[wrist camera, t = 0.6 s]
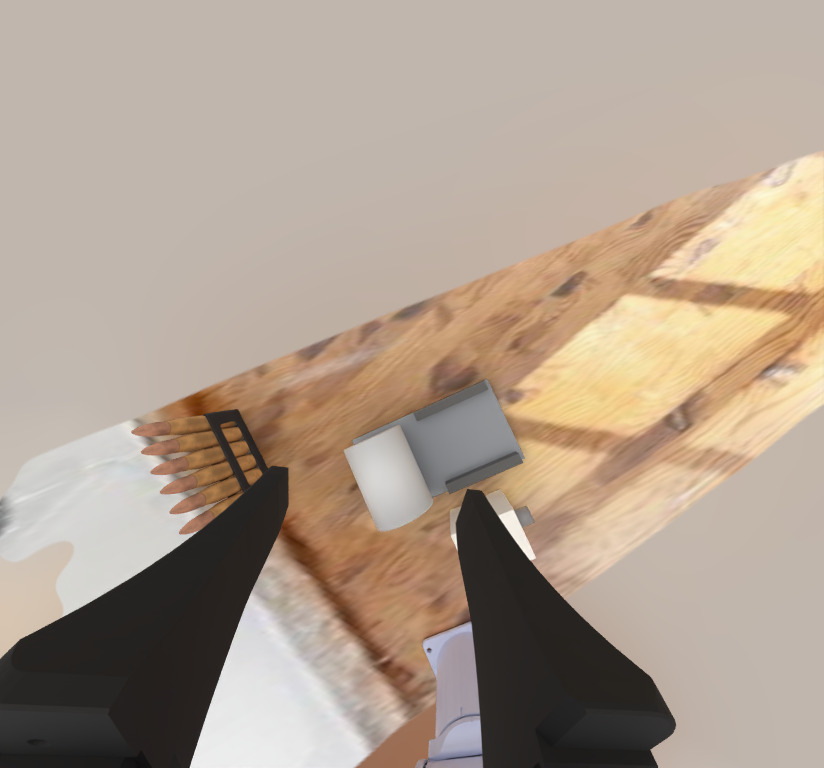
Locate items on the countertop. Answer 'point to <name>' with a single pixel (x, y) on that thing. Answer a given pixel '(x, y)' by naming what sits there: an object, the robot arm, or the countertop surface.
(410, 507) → the motor mount
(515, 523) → the block
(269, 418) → the countertop surface
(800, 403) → the countertop surface
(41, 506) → the countertop surface
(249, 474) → the ammunition clip
